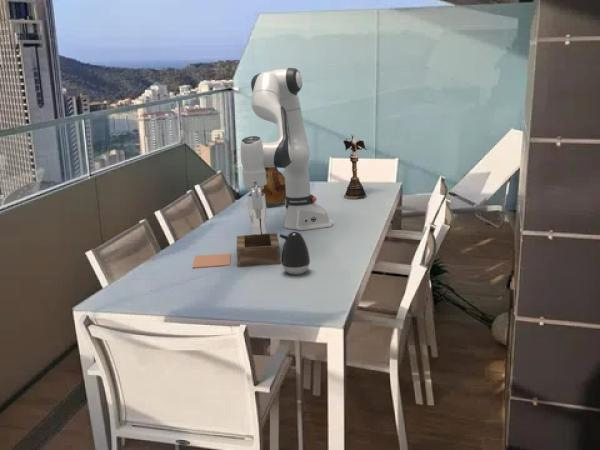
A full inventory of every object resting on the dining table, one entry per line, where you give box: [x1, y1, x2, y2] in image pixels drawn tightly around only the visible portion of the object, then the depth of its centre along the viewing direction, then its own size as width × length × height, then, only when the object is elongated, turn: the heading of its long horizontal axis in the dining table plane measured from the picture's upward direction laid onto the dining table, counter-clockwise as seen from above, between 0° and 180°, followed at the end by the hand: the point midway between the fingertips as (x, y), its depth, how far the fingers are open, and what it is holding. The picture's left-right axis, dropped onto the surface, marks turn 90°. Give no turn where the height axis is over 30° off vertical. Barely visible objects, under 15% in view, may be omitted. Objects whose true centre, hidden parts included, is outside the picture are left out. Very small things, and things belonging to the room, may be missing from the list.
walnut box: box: [236, 232, 281, 268], centre depth 240 cm, size 18×16×7 cm
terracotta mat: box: [192, 253, 231, 269], centre depth 240 cm, size 14×14×1 cm
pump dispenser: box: [279, 230, 311, 276], centre depth 221 cm, size 10×10×15 cm
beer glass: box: [247, 193, 268, 235], centre depth 237 cm, size 7×7×15 cm
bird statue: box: [342, 130, 368, 200], centre depth 334 cm, size 17×13×35 cm
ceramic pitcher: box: [261, 167, 286, 206], centre depth 326 cm, size 20×20×30 cm
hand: (258, 215), depth 237 cm, fingers closed on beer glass, 6 cm apart
